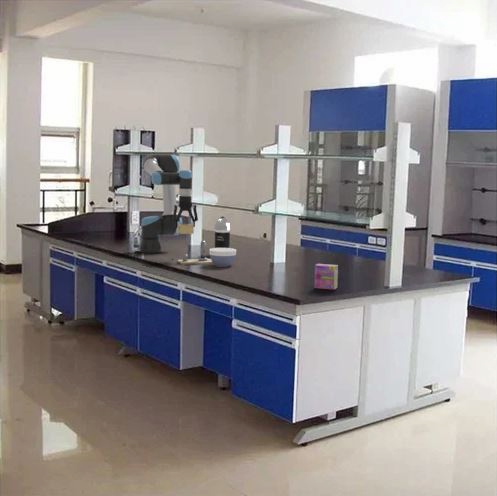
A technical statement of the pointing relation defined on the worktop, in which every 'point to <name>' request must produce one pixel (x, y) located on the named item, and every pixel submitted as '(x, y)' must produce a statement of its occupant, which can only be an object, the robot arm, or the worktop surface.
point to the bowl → (222, 256)
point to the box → (326, 276)
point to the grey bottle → (222, 233)
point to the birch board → (195, 262)
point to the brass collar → (186, 229)
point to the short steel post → (185, 257)
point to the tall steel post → (203, 251)
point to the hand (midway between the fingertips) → (184, 232)
